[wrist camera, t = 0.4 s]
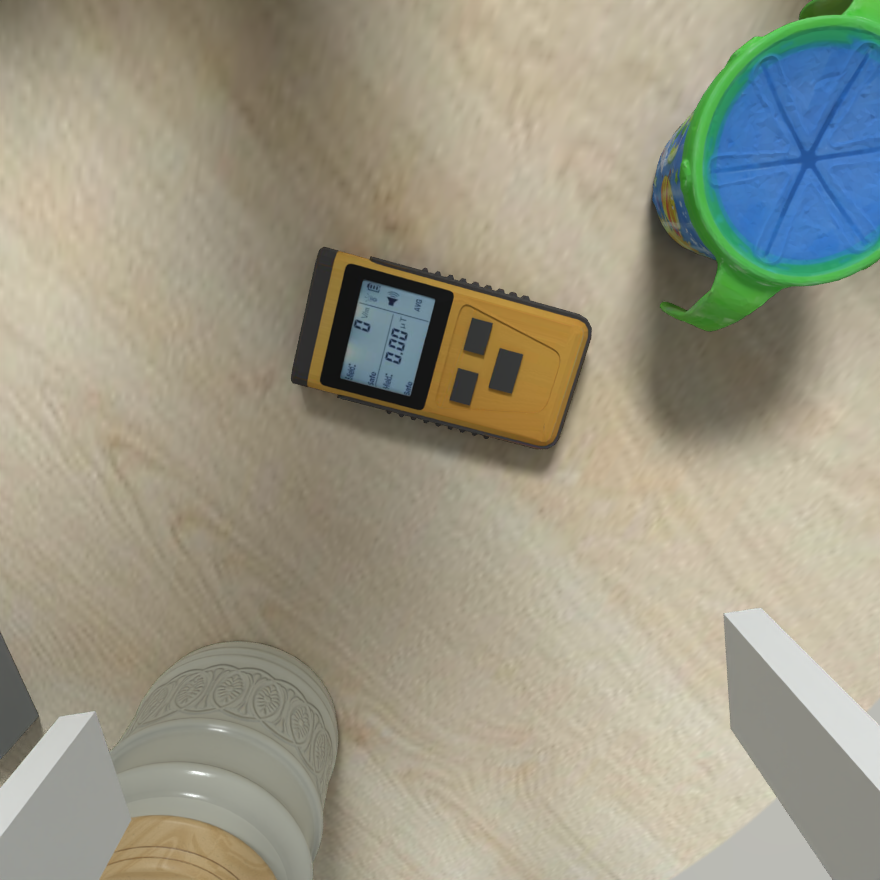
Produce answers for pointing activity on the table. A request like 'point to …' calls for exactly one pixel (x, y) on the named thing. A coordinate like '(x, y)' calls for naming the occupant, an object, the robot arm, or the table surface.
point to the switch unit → (12, 702)
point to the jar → (226, 769)
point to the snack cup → (780, 163)
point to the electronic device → (440, 349)
